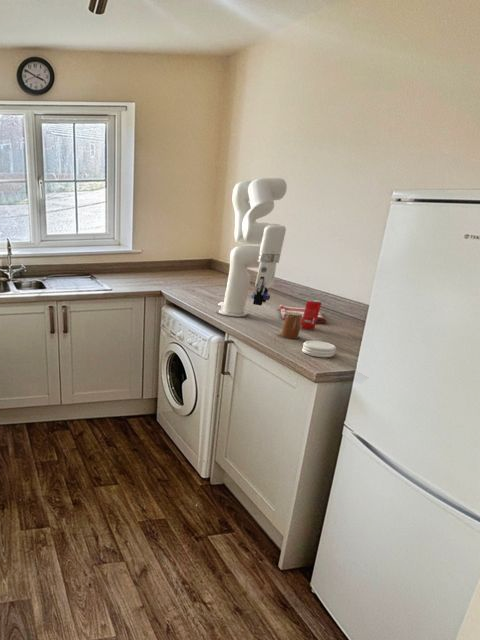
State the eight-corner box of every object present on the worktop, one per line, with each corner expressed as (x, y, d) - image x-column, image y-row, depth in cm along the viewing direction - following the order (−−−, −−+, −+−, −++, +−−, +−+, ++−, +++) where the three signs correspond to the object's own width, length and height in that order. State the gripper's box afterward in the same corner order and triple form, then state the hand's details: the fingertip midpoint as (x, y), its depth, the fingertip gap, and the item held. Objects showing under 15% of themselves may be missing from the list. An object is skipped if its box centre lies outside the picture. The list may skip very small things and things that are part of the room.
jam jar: (277, 335, 186) (283, 312, 183) (288, 333, 188) (293, 311, 185) (290, 339, 181) (296, 316, 178) (301, 337, 183) (307, 314, 180)
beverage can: (297, 327, 197) (304, 300, 192) (305, 325, 199) (312, 298, 194) (309, 330, 193) (316, 302, 188) (317, 328, 195) (324, 301, 190)
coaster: (296, 352, 166) (299, 343, 165) (308, 347, 172) (310, 338, 171) (326, 360, 159) (329, 350, 158) (338, 354, 165) (340, 345, 163)
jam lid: (273, 299, 183) (274, 295, 182) (260, 300, 180) (262, 296, 180) (259, 296, 188) (260, 291, 188) (247, 297, 186) (248, 292, 185)
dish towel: (283, 320, 208) (284, 314, 207) (278, 308, 228) (279, 303, 227) (325, 323, 202) (327, 318, 201) (316, 312, 222) (318, 306, 221)
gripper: (274, 261, 170) (264, 308, 177) (283, 257, 182) (274, 301, 189) (253, 259, 174) (244, 305, 181) (263, 255, 187) (254, 298, 194)
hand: (259, 302), depth 185 cm, fingers closed on jam lid, 6 cm apart
